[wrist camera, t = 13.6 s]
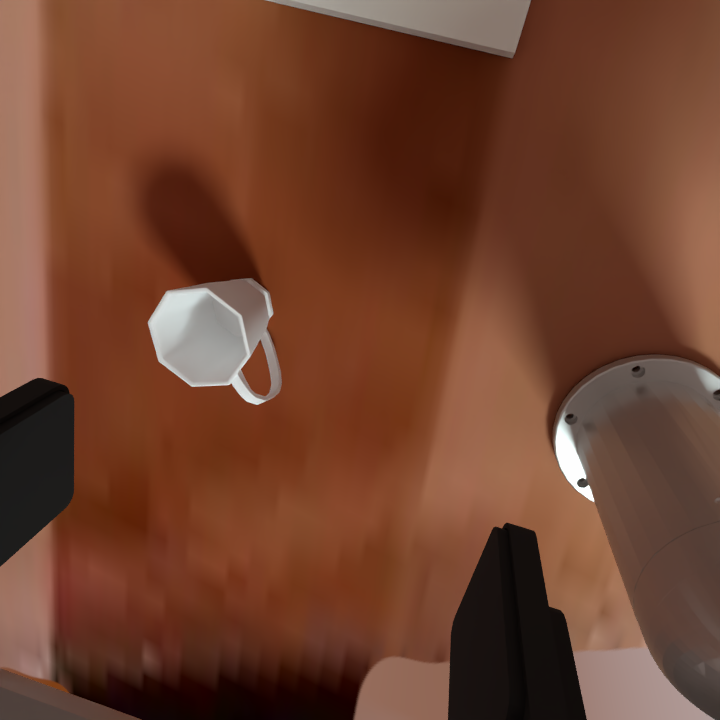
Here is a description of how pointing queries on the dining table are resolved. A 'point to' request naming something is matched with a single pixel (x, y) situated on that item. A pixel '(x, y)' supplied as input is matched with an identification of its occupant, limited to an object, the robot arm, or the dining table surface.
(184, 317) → the cup
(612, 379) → the robot arm
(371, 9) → the board
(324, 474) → the dining table surface
